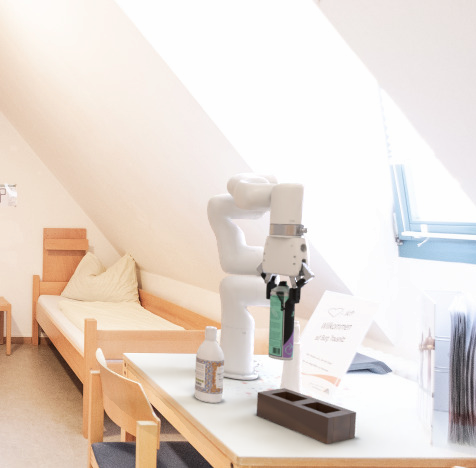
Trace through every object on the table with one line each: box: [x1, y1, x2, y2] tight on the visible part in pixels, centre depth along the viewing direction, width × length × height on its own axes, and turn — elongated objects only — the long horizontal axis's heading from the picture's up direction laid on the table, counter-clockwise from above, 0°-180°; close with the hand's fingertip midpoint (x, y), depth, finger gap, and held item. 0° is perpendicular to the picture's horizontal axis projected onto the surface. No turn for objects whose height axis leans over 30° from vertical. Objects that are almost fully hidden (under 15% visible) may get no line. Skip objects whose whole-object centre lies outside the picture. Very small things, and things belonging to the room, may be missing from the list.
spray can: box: [267, 280, 296, 361], centre depth 138 cm, size 6×6×20 cm
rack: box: [256, 388, 357, 445], centre depth 129 cm, size 10×18×6 cm, turn 23°
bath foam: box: [194, 325, 224, 404], centre depth 146 cm, size 7×7×20 cm
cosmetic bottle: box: [279, 319, 303, 394], centre depth 147 cm, size 6×6×22 cm
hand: (282, 300), depth 138 cm, fingers closed on spray can, 5 cm apart
